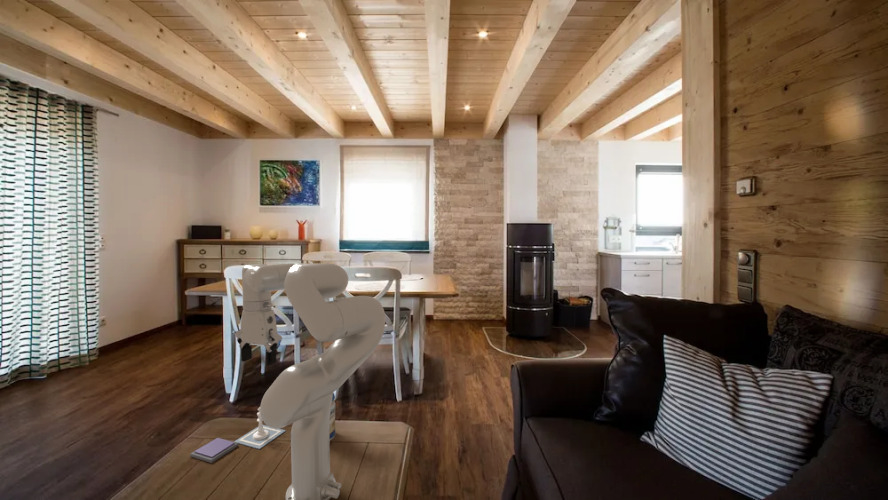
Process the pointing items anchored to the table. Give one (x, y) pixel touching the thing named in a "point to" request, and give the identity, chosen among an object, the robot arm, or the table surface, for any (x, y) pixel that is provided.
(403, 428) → the table surface
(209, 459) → the ink pad
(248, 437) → the pale blue flat square
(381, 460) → the table surface
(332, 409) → the beverage bottle
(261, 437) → the chess piece
